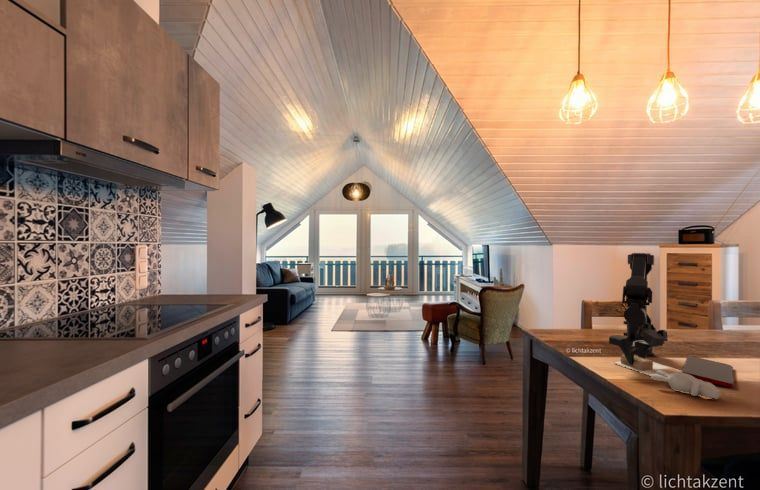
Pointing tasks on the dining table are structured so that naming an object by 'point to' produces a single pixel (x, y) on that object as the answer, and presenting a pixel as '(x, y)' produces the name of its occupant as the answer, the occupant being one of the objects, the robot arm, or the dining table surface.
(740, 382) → the dining table surface
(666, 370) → the mat
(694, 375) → the grey and red slab
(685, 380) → the bunny figurine
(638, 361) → the slotted tan box
